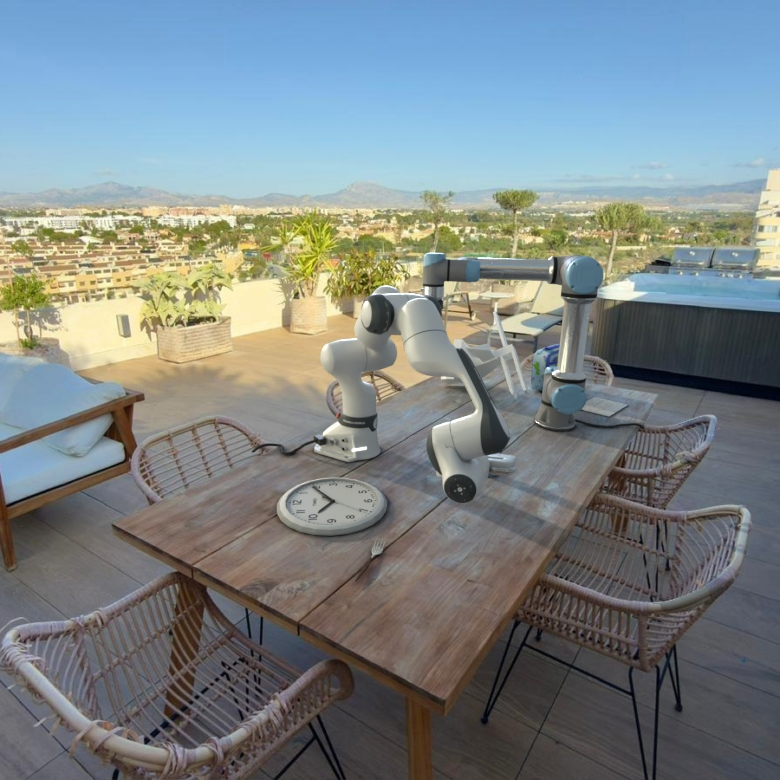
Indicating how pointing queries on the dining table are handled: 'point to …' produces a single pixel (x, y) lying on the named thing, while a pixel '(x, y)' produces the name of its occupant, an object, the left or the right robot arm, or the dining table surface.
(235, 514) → the dining table surface
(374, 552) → the fork
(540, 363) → the lunch box
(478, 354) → the white plastic object
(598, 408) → the invitation card
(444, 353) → the left robot arm
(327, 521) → the wall clock
